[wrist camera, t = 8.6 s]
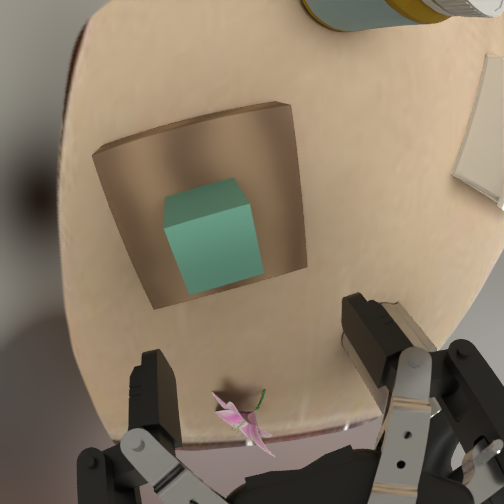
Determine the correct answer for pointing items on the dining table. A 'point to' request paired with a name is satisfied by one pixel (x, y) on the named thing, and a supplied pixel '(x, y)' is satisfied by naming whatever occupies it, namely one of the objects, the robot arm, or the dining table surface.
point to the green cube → (212, 235)
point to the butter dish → (485, 135)
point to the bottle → (396, 12)
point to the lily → (244, 421)
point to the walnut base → (202, 173)
